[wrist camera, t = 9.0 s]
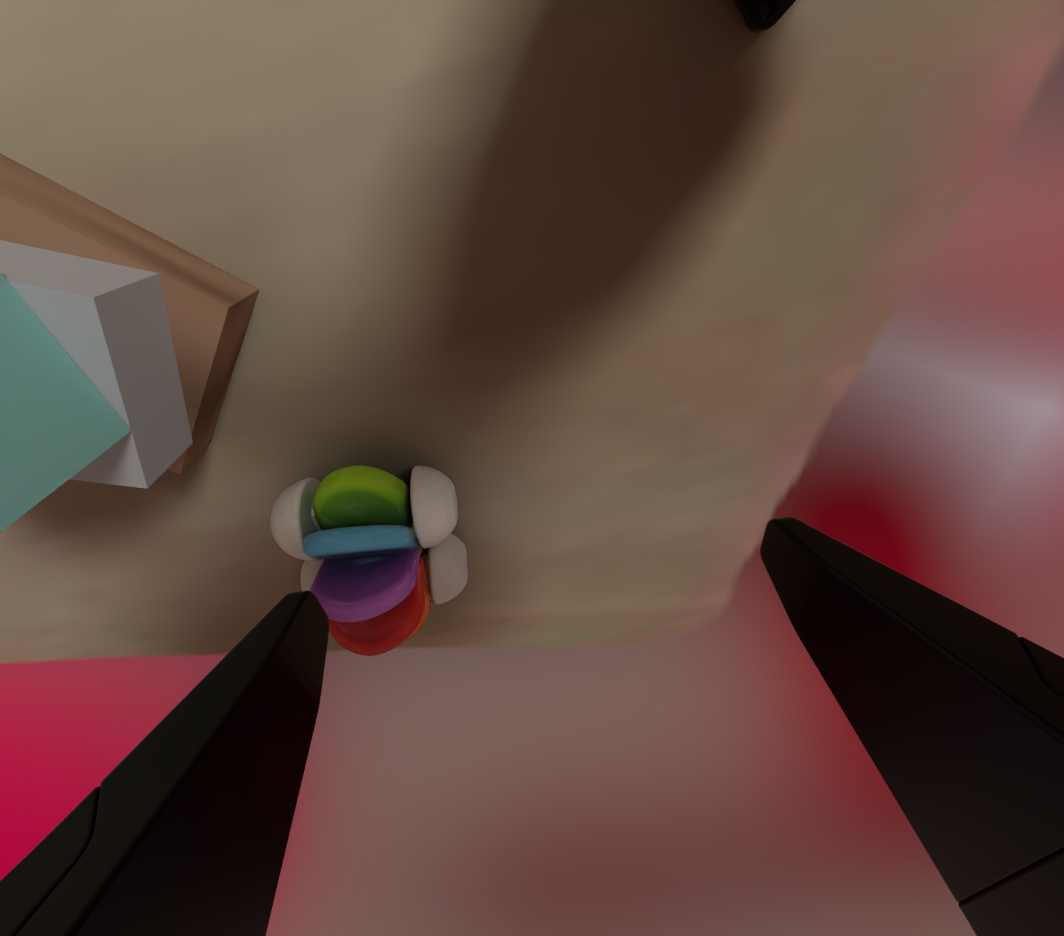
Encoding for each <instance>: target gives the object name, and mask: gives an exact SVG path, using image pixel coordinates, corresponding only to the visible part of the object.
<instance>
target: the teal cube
mask: <svg viewBox="0 0 1064 936" xmlns="http://www.w3.org/2000/svg"><path fill="white" fill-rule="evenodd" d="M130 431H131V430H130V429H129V428H128V426H127V425H126V424H125V423H124V422H123V420H122V419H121V418H120V417H119V416H118V414H117V413H116V412H115V411H114V410H113V408H112V407H111V406H110V405H109V403H108V402H107V401H106V400H105V399H104V397H103V396H102V395H101V394H100V393H99V391H98V390H97V389H96V388H95V387H94V385H93V384H92V383H91V382H90V380H89V379H88V378H87V377H86V376H85V374H84V373H83V372H82V371H81V370H80V368H79V367H78V366H77V365H76V364H75V362H74V361H73V360H72V359H71V358H70V356H69V355H68V354H67V353H66V351H65V350H64V349H63V348H62V347H61V345H60V344H59V343H58V342H57V341H56V339H55V338H54V337H53V336H52V335H51V333H50V332H49V331H48V330H47V328H46V327H45V326H44V325H43V324H42V322H41V321H40V320H39V319H38V318H37V316H36V315H35V314H34V313H33V312H32V310H31V309H30V308H29V307H28V305H27V304H26V303H25V302H24V301H23V299H22V298H21V297H20V296H19V295H18V293H17V292H16V291H15V290H14V289H13V287H12V286H11V285H10V284H9V282H8V281H7V280H6V279H5V278H4V276H3V275H2V274H1V273H0V533H1V532H2V531H3V530H5V529H6V528H7V527H8V526H10V525H11V524H12V523H14V522H15V521H16V520H17V519H19V518H20V517H21V516H22V515H24V514H25V513H26V512H28V511H29V510H30V509H31V508H33V507H34V506H35V505H37V504H38V503H39V502H40V501H42V500H43V499H44V498H46V497H47V496H48V495H49V494H51V493H52V492H53V491H55V490H56V489H57V488H58V487H60V486H61V485H62V484H64V483H65V482H66V481H67V480H69V479H70V478H71V477H73V476H74V475H75V474H76V473H78V472H79V471H80V470H82V469H83V468H84V467H85V466H87V465H88V464H89V463H91V462H92V461H93V460H94V459H96V458H97V457H98V456H100V455H101V454H102V453H103V452H105V451H106V450H107V449H109V448H110V447H111V446H112V445H114V444H115V443H116V442H118V441H119V440H120V439H121V438H123V437H124V436H125V435H126V434H128V433H129V432H130Z"/></svg>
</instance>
